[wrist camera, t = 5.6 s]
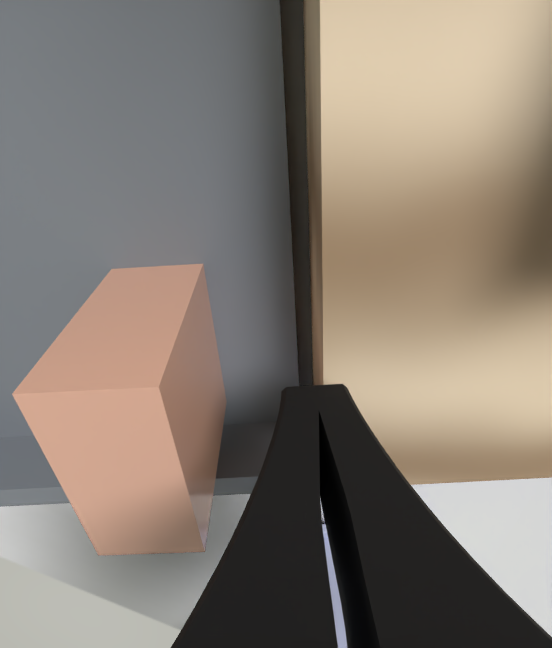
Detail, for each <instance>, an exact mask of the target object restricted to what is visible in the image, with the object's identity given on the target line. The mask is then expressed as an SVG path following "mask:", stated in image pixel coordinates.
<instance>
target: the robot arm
mask: <svg viewBox="0 0 552 648" xmlns="http://www.w3.org/2000/svg"><path fill="white" fill-rule="evenodd" d="M320 498H321V503H322V509H323V514H324V519H325V524H322V520H321V505H320ZM171 648H552V637H551V636H550V635H549V634H548V633H547V632H546V631H545V630H544V629H543V628H541V627H540V626H539V625H538V624H537V623H536V622H535V621H534V620H533V619H532V618H531V617H530V616H529V615H528V614H527V613H526V612H525V611H524V610H523V609H522V608H521V607H520V606H519V605H518V604H517V603H516V602H515V601H514V600H513V599H512V598H511V597H510V596H508V595H507V594H506V593H505V592H504V591H503V589H502V588H501V587H500V586H499V585H498V584H497V583H496V582H495V581H494V580H493V579H492V578H491V577H490V576H489V575H488V574H487V573H486V572H485V571H484V570H483V568H482V567H481V566H480V565H479V564H478V563H477V562H476V561H475V560H474V559H473V558H472V557H471V556H470V555H469V554H468V552H467V551H466V550H465V549H464V548H463V547H462V546H461V545H460V544H459V542H458V541H457V540H456V539H455V538H454V537H453V536H452V535H451V534H450V532H449V531H448V530H447V529H446V528H445V527H444V525H443V524H442V523H441V522H440V521H439V520H438V518H437V517H436V516H435V515H434V514H433V512H432V511H431V510H430V509H429V508H428V506H427V505H426V504H425V503H424V501H423V500H422V499H421V498H420V496H419V495H418V494H417V493H416V491H415V490H414V489H413V487H412V486H411V485H410V484H409V482H408V481H407V480H406V478H405V477H404V476H403V474H402V473H401V472H400V470H399V469H398V468H397V466H396V465H395V463H394V462H393V461H392V459H391V458H390V456H389V455H388V454H387V452H386V451H385V449H384V448H383V447H382V445H381V444H380V442H379V441H378V439H377V438H376V436H375V435H374V433H373V432H372V430H371V429H370V427H369V425H368V424H367V422H366V421H365V419H364V417H363V416H362V414H361V412H360V411H359V409H358V407H357V405H356V404H355V402H354V400H353V398H352V396H351V394H350V392H349V390H348V388H347V387H346V386H345V385H343V384H328V385H310V386H292V387H286V388H284V389H283V390H282V391H281V402H280V408H279V413H278V417H277V421H276V425H275V429H274V432H273V436H272V439H271V442H270V445H269V448H268V451H267V454H266V457H265V460H264V463H263V466H262V468H261V471H260V474H259V476H258V479H257V481H256V483H255V486H254V488H253V491H252V493H251V495H250V498H249V500H248V503H247V505H246V508H245V510H244V512H243V514H242V517H241V519H240V521H239V523H238V525H237V527H236V530H235V532H234V534H233V536H232V538H231V540H230V542H229V544H228V546H227V548H226V550H225V552H224V554H223V556H222V558H221V560H220V562H219V564H218V566H217V568H216V569H215V571H214V573H213V575H212V577H211V579H210V580H209V582H208V584H207V586H206V588H205V590H204V591H203V593H202V595H201V597H200V599H199V600H198V602H197V604H196V606H195V608H194V609H193V611H192V613H191V615H190V616H189V618H188V620H187V622H186V623H185V625H184V627H183V628H182V630H181V632H180V633H179V635H178V637H177V638H176V640H175V642H174V643H173V645H172V647H171Z"/></svg>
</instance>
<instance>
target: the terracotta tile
mask: <svg viewBox="0 0 552 648" xmlns="http://www.w3.org/2000/svg"><path fill="white" fill-rule="evenodd" d="M12 395H13V397H14V399H15V401H16V403H17V404H18V406H19V408H20V410H21V412H22V414H23V416H24V417H25V419H26V421H27V423H28V425H29V427H30V429H31V430H32V432H33V434H34V436H35V438H36V440H37V442H38V444H39V445H40V447H41V449H42V451H43V453H44V455H45V457H46V458H47V460H48V462H49V464H50V466H51V468H52V470H53V472H54V473H55V475H56V477H57V479H58V481H59V483H60V485H61V486H62V488H63V490H64V492H65V494H66V496H67V498H68V500H69V501H70V503H71V505H72V507H73V509H74V511H75V513H76V514H77V516H78V518H79V520H80V522H81V524H82V526H83V528H84V529H85V531H86V533H87V535H88V537H89V539H90V541H91V542H92V544H93V546H94V548H95V550H96V552H97V554H98V555H127V554H156V553H184V552H205V548H206V541H207V534H208V527H209V520H210V513H211V506H212V499H213V493H214V486H215V479H216V472H217V465H218V458H219V451H220V444H221V437H222V430H223V423H224V416H225V409H226V403H227V401H226V395H225V389H224V383H223V377H222V371H221V366H220V360H219V354H218V348H217V342H216V336H215V330H214V324H213V318H212V312H211V307H210V301H209V295H208V289H207V283H206V277H205V271H204V265H203V264H187V265H170V266H153V267H136V268H120V269H111V270H110V272H109V273H108V274H107V275H106V277H105V278H104V279H103V280H102V282H101V283H100V284H99V285H98V287H97V288H96V289H95V290H94V292H93V293H92V294H91V295H90V297H89V298H88V299H87V300H86V302H85V303H84V304H83V305H82V307H81V308H80V309H79V310H78V312H77V313H76V314H75V316H74V317H73V318H72V319H71V321H70V322H69V323H68V324H67V326H66V327H65V328H64V329H63V331H62V332H61V333H60V334H59V336H58V337H57V338H56V339H55V341H54V342H53V343H52V344H51V346H50V347H49V348H48V349H47V351H46V352H45V353H44V354H43V356H42V357H41V358H40V359H39V361H38V362H37V363H36V365H35V366H34V367H33V368H32V370H31V371H30V372H29V373H28V375H27V376H26V377H25V378H24V380H23V381H22V382H21V383H20V385H19V386H18V387H17V388H16V390H15V391H14V392H13V393H12Z"/></svg>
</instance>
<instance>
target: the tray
mask: <svg viewBox="0 0 552 648" xmlns="http://www.w3.org/2000/svg"><path fill="white" fill-rule="evenodd" d="M187 264H203V265H204V271H205V277H206V283H207V289H208V295H209V301H210V307H211V312H212V318H213V324H214V330H215V336H216V342H217V348H218V354H219V360H220V366H221V371H222V377H223V383H224V389H225V395H226V401H227V403H226V409H225V416H224V423H223V430H222V437H221V444H220V451H219V458H218V465H217V472H216V479H215V486H214V493H213V495H231V494H251V493H252V491H253V488H254V486H255V483H256V481H257V479H258V476H259V474H260V471H261V468H262V466H263V463H264V460H265V457H266V454H267V451H268V448H269V445H270V442H271V439H272V436H273V432H274V429H275V425H276V421H277V417H278V413H279V408H280V402H281V391H282V390H283V389H284V388H286V387H292V386H299V374H298V355H297V335H296V315H295V295H294V275H293V255H292V235H291V216H290V196H289V176H288V156H287V136H286V116H285V96H284V76H283V57H282V37H281V17H280V0H0V507H1V506H20V505H39V504H58V503H70V501H69V500H68V498H67V496H66V494H65V492H64V490H63V488H62V486H61V485H60V483H59V481H58V479H57V477H56V475H55V473H54V472H53V470H52V468H51V466H50V464H49V462H48V460H47V458H46V457H45V455H44V453H43V451H42V449H41V447H40V445H39V444H38V442H37V440H36V438H35V436H34V434H33V432H32V430H31V429H30V427H29V425H28V423H27V421H26V419H25V417H24V416H23V414H22V412H21V410H20V408H19V406H18V404H17V403H16V401H15V399H14V397H13V395H12V393H13V392H14V391H15V390H16V388H17V387H18V386H19V385H20V383H21V382H22V381H23V380H24V378H25V377H26V376H27V375H28V373H29V372H30V371H31V370H32V368H33V367H34V366H35V365H36V363H37V362H38V361H39V359H40V358H41V357H42V356H43V354H44V353H45V352H46V351H47V349H48V348H49V347H50V346H51V344H52V343H53V342H54V341H55V339H56V338H57V337H58V336H59V334H60V333H61V332H62V331H63V329H64V328H65V327H66V326H67V324H68V323H69V322H70V321H71V319H72V318H73V317H74V316H75V314H76V313H77V312H78V310H79V309H80V308H81V307H82V305H83V304H84V303H85V302H86V300H87V299H88V298H89V297H90V295H91V294H92V293H93V292H94V290H95V289H96V288H97V287H98V285H99V284H100V283H101V282H102V280H103V279H104V278H105V277H106V275H107V274H108V273H109V272H110V270H111V269H120V268H136V267H153V266H170V265H187Z"/></svg>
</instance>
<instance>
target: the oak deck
mask: <svg viewBox="0 0 552 648" xmlns="http://www.w3.org/2000/svg"><path fill="white" fill-rule="evenodd" d="M303 20H304V58H305V96H306V134H307V171H308V209H309V247H310V285H311V323H312V361H313V385H328V384H343V385H345V386H346V387H347V388H348V390H349V392H350V394H351V396H352V398H353V400H354V402H355V404H356V405H357V407H358V409H359V411H360V412H361V414H362V416H363V417H364V419H365V421H366V422H367V424H368V425H369V427H370V429H371V430H372V432H373V433H374V435H375V436H376V438H377V439H378V441H379V442H380V444H381V445H382V447H383V448H384V449H385V451H386V452H387V454H388V455H389V456H390V458H391V459H392V461H393V462H394V463H395V465H396V466H397V468H398V469H399V470H400V472H401V473H402V474H403V476H404V477H405V478H406V480H407V481H408V482H409V484H410V485H414V484H434V483H453V482H472V481H491V480H510V479H530V478H549V477H552V0H303Z"/></svg>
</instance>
